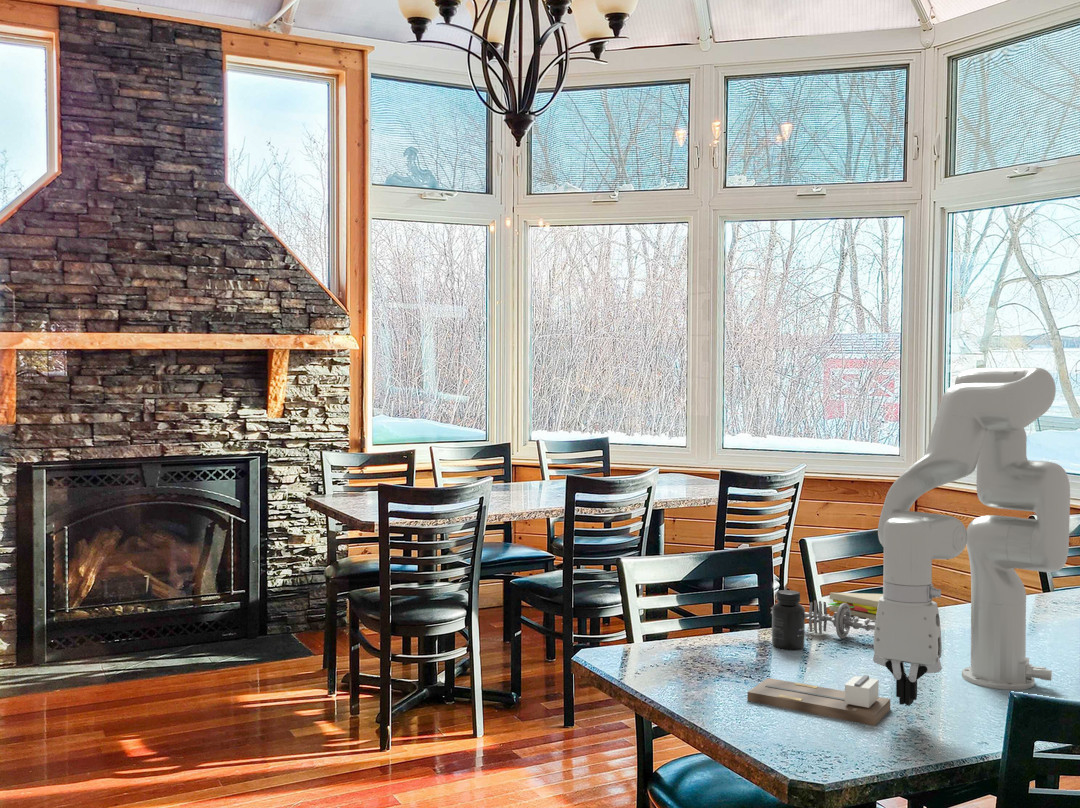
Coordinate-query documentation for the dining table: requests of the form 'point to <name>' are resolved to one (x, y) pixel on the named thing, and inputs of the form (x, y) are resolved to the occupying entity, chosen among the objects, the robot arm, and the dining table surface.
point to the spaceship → (837, 619)
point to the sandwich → (857, 603)
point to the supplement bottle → (788, 621)
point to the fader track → (816, 701)
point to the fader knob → (861, 691)
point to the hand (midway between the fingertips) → (906, 702)
